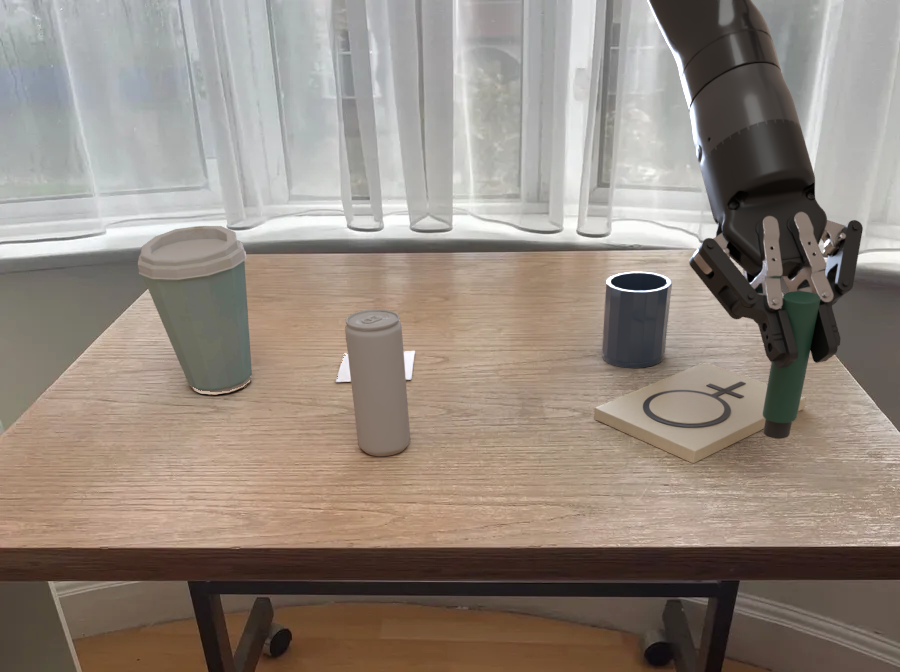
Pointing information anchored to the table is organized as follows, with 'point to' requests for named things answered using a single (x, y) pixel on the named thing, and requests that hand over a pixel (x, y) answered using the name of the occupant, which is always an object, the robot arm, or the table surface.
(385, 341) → the beverage can
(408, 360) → the white piece
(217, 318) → the disposable coffee cup
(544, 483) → the table surface
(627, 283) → the pen cup
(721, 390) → the drawing board
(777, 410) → the marker
